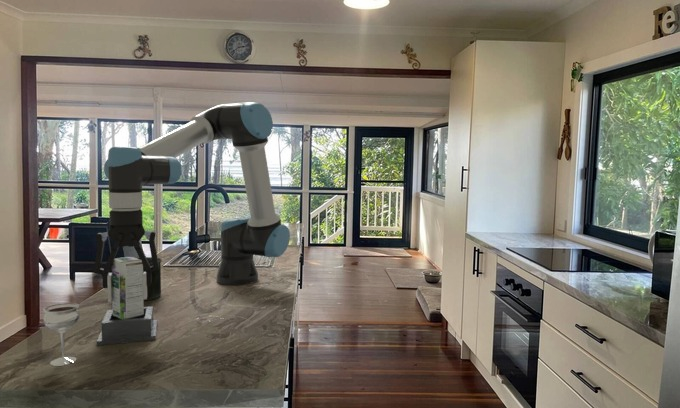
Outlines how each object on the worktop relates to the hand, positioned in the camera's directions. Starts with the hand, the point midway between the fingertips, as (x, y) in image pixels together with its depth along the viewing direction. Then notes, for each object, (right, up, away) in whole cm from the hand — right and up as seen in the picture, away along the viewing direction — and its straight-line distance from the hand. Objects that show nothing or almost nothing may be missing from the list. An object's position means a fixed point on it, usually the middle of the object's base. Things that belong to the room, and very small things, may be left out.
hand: (128, 299), depth 120 cm
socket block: (0, -9, +1) cm, 9 cm away
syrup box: (0, -4, 0) cm, 4 cm away
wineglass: (-7, -10, -16) cm, 20 cm away
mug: (-12, -6, +34) cm, 36 cm away
